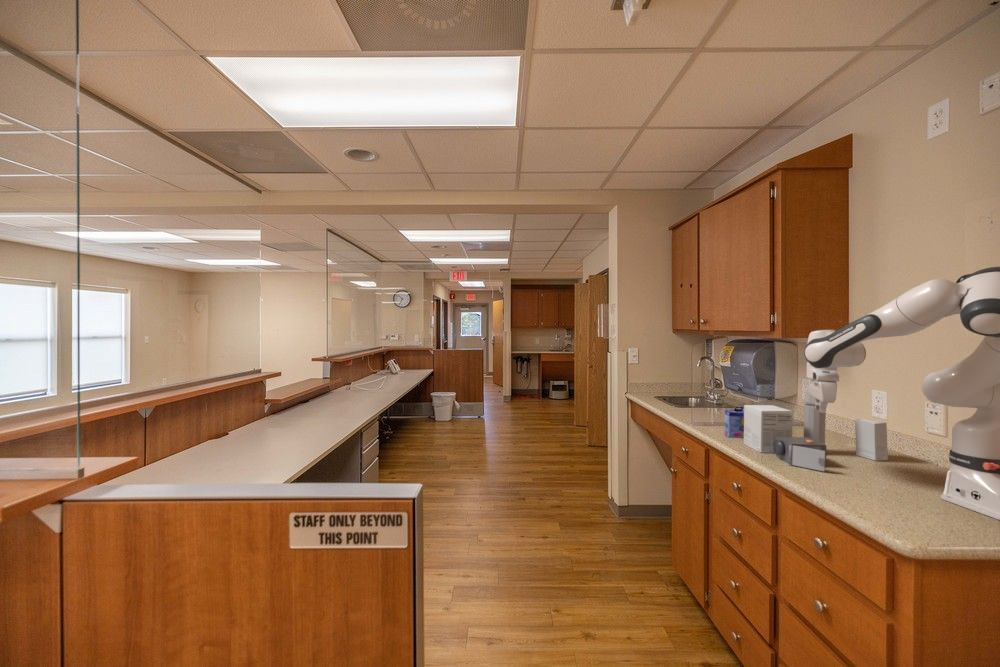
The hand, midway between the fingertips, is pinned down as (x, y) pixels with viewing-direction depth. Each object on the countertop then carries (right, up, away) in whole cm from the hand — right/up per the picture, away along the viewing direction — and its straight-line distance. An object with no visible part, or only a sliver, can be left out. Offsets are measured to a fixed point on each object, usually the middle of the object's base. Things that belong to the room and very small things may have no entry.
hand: (820, 411), depth 155 cm
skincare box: (+30, -21, +14) cm, 40 cm away
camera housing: (-1, -21, +9) cm, 23 cm away
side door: (-5, -21, 0) cm, 21 cm away
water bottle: (+13, -21, +22) cm, 33 cm away
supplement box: (-3, -21, +26) cm, 33 cm away
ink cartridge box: (-5, -20, +45) cm, 50 cm away
